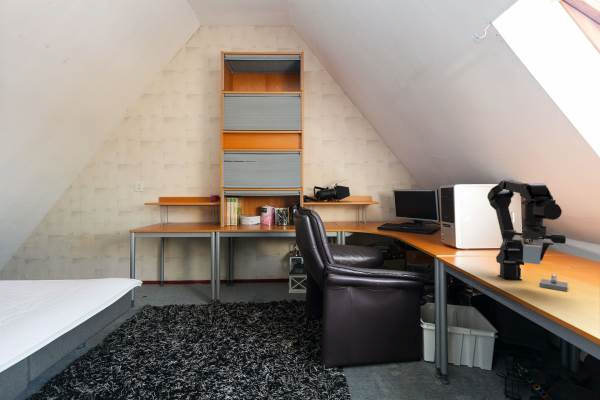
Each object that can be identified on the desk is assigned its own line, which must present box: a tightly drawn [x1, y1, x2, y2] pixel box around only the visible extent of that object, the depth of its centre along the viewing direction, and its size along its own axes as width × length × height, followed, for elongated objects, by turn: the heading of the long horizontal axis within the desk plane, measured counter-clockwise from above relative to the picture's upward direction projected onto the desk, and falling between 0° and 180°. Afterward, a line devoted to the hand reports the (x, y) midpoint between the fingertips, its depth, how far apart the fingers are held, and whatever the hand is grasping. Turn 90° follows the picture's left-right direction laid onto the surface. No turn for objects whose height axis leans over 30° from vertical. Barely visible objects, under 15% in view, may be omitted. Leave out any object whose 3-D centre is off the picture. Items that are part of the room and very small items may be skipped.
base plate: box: [539, 274, 569, 292], centre depth 121 cm, size 8×8×4 cm
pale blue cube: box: [523, 244, 543, 265], centre depth 118 cm, size 5×5×6 cm
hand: (532, 259), depth 118 cm, fingers closed on pale blue cube, 5 cm apart
